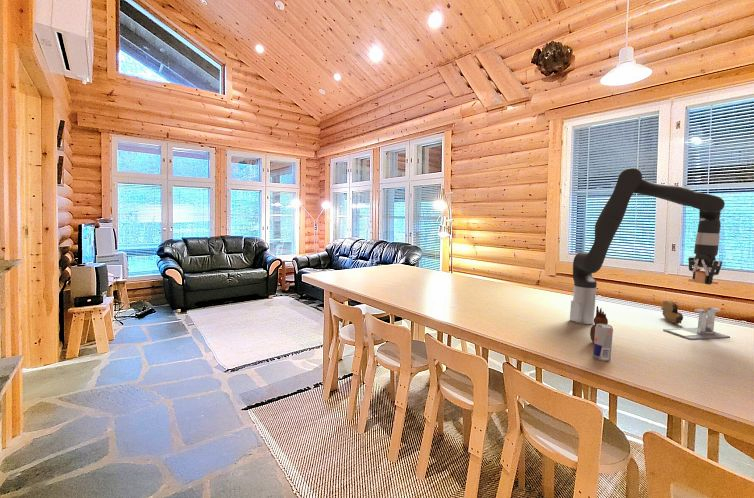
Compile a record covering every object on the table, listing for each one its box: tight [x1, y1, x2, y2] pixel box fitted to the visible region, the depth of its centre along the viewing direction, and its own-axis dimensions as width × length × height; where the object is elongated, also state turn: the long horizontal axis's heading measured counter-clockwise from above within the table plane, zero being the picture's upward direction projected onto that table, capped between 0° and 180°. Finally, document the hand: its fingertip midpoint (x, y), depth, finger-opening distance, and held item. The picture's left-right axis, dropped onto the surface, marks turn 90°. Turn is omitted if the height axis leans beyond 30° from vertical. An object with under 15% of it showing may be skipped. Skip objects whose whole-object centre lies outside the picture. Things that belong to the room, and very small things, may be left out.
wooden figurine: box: [589, 305, 609, 344], centre depth 145 cm, size 7×6×15 cm
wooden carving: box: [660, 300, 684, 324], centre depth 177 cm, size 16×5×10 cm, turn 168°
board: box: [662, 327, 731, 341], centre depth 160 cm, size 20×12×1 cm, turn 99°
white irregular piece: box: [694, 307, 722, 334], centre depth 160 cm, size 11×5×10 cm, turn 99°
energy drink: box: [592, 324, 614, 362], centre depth 131 cm, size 5×5×12 cm
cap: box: [687, 270, 719, 285], centre depth 157 cm, size 10×5×5 cm, turn 50°
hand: (701, 282), depth 158 cm, fingers closed on cap, 5 cm apart
